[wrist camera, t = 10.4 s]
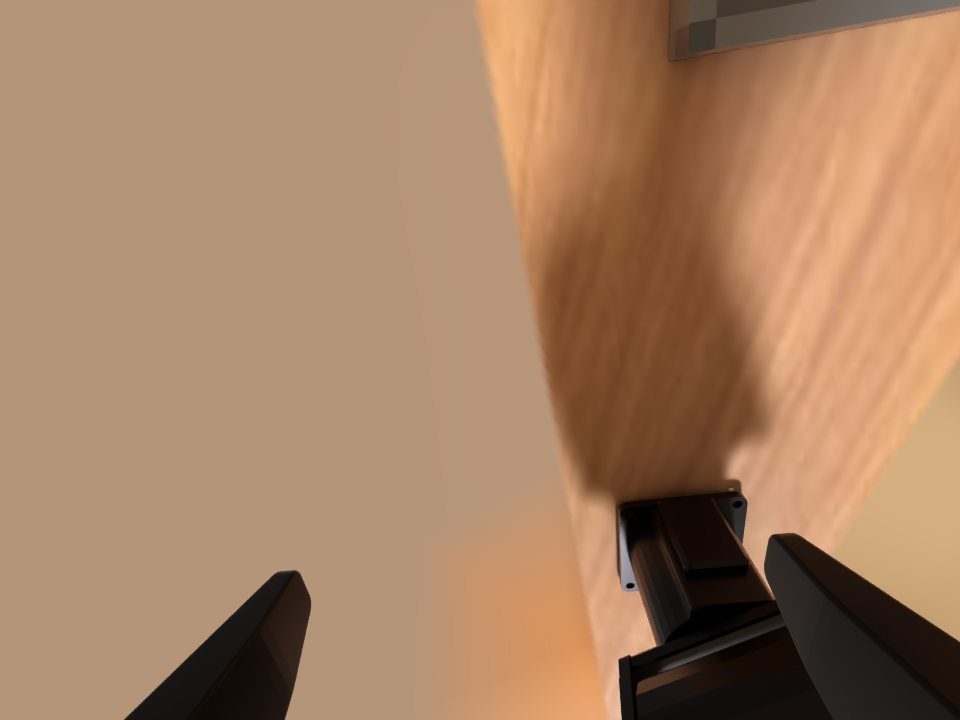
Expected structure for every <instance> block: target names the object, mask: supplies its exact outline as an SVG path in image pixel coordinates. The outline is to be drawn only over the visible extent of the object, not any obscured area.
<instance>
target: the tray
mask: <svg viewBox="0 0 960 720" xmlns="http://www.w3.org/2000/svg"><path fill="white" fill-rule="evenodd" d="M959 10H960V0H670V28H669V62H670V61H675V60H681V59H687V58H692V57H698V56H704V55H710V54H715V53H721V52H727V51H732V50H738V49H744V48H749V47H755V46H761V45H766V44H772V43H778V42H783V41H789V40H795V39H800V38H806V37H812V36H817V35H823V34H829V33H834V32H840V31H846V30H852V29H857V28H863V27H869V26H874V25H880V24H886V23H891V22H897V21H903V20H908V19H914V18H920V17H925V16H931V15H937V14H942V13H948V12H954V11H959Z"/></svg>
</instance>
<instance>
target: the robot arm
mask: <svg viewBox="0 0 960 720" xmlns="http://www.w3.org/2000/svg"><path fill="white" fill-rule="evenodd" d="M735 501H737V502H735ZM734 502H735V503H734ZM747 504H748V503H747V500H746V498H745V497H744V496H743V494H742V493H740V492H727V493H716V494H706V495H695V496H685V497H675V498H664V499H654V500H644V501H633V502H625V503H623V504H621V505H620V506H619V507H618V539H619V572H620V583H621V587H622V589H623V590H624V591H627V592H632V591H639V592H640V595H641V598H642V601H643V605H644V608H645V611H646V614H647V617H648V620H649V623H650V626H651V630H652V633H653V636H654V639H655V642H656V645H657V647H654V648H652V649H649V650H647V651H644V652H641V653H639V654H636V655H634V656H630V655H628V656H625V657H623V658H620V659H619V675H620V678H619V686H620V700H621V715H622V720H960V642H959V641H958V640H956V639H955V638H953V637H952V636H950V635H949V634H947V633H946V632H944V631H943V630H941V629H940V628H938V627H937V626H935V625H934V624H932V623H931V622H929V621H928V620H926V619H925V618H923V617H922V616H920V615H919V614H917V613H916V612H914V611H913V610H911V609H910V608H908V607H907V606H905V605H904V604H902V603H901V602H899V601H898V600H896V599H894V598H893V597H891V596H890V595H889V594H887V593H886V592H884V591H882V590H881V589H880V588H878V587H876V586H875V585H873V584H872V583H870V582H869V581H867V580H866V579H864V578H863V577H861V576H860V575H858V574H857V573H855V572H854V571H852V570H851V569H849V568H848V567H846V566H845V565H843V564H842V563H840V562H839V561H837V560H836V559H834V558H833V557H831V556H830V555H828V554H827V553H825V552H824V551H822V550H821V549H819V548H818V547H816V546H815V545H813V544H812V543H810V542H809V541H807V540H806V539H804V538H803V537H801V536H799V535H797V534H795V533H783V534H773V535H771V536H770V538H769V540H768V546H767V551H766V557H765V562H764V571H765V576H766V579H767V581H768V584H769V586H770V588H771V590H772V593H773V595H774V597H775V598H774V597H773V595H772V593H771V592H770V590H769V588H768V587H767V585H766V583H765V582H764V580H763V578H762V577H761V575H760V573H759V572H758V570H757V568H756V567H755V565H754V563H753V562H752V560H751V558H750V557H749V555H748V554H747V552H746V550H745V549H744V547H743V545H742V543H743V535H744V527H745V519H746V512H747ZM627 511H630V512H628V513H626V512H627ZM310 611H311V598H310V595H309V593H308V590H307V588H306V586H305V584H304V581H303V579H302V577H301V574H300V573H299V572H298V571H295V570H292V571H280V572H277V573H275V574H274V575H273V576H272V577H271V578H270V579H269V580H268V581H267V582H266V583H264V584H263V585H262V586H261V588H259V589H258V590H257V591H256V592H255V593H254V594H253V595H252V596H251V597H250V598H249V599H248V600H247V601H246V602H245V603H244V604H243V605H242V606H241V607H240V608H239V609H238V610H237V611H236V612H235V613H234V614H233V615H231V616H230V617H229V618H228V620H226V621H225V622H224V623H223V624H222V625H221V626H220V627H219V628H218V629H217V630H216V631H215V632H214V633H213V634H212V635H211V636H210V637H209V638H208V639H207V640H206V641H205V642H204V643H203V644H202V645H200V647H198V649H196V650H195V651H194V652H193V653H192V654H191V655H190V656H189V657H188V658H187V659H186V660H185V661H184V662H183V663H182V664H181V665H180V666H179V667H178V668H177V669H176V670H175V671H174V672H173V673H172V674H171V675H170V676H169V677H168V678H166V680H164V681H163V682H162V683H161V684H160V685H159V686H158V687H157V688H156V689H155V690H154V691H153V692H152V693H151V694H150V695H149V696H148V697H147V698H146V699H145V700H144V701H143V702H142V703H141V704H140V705H139V706H138V707H137V708H135V709H134V711H133V712H131V713H130V714H129V715H128V716H127V717H126V718H125V719H124V720H285V717H286V714H287V711H288V707H289V704H290V700H291V697H292V693H293V689H294V685H295V681H296V677H297V672H298V667H299V662H300V657H301V653H302V648H303V644H304V639H305V634H306V629H307V625H308V620H309V616H310Z"/></svg>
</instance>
